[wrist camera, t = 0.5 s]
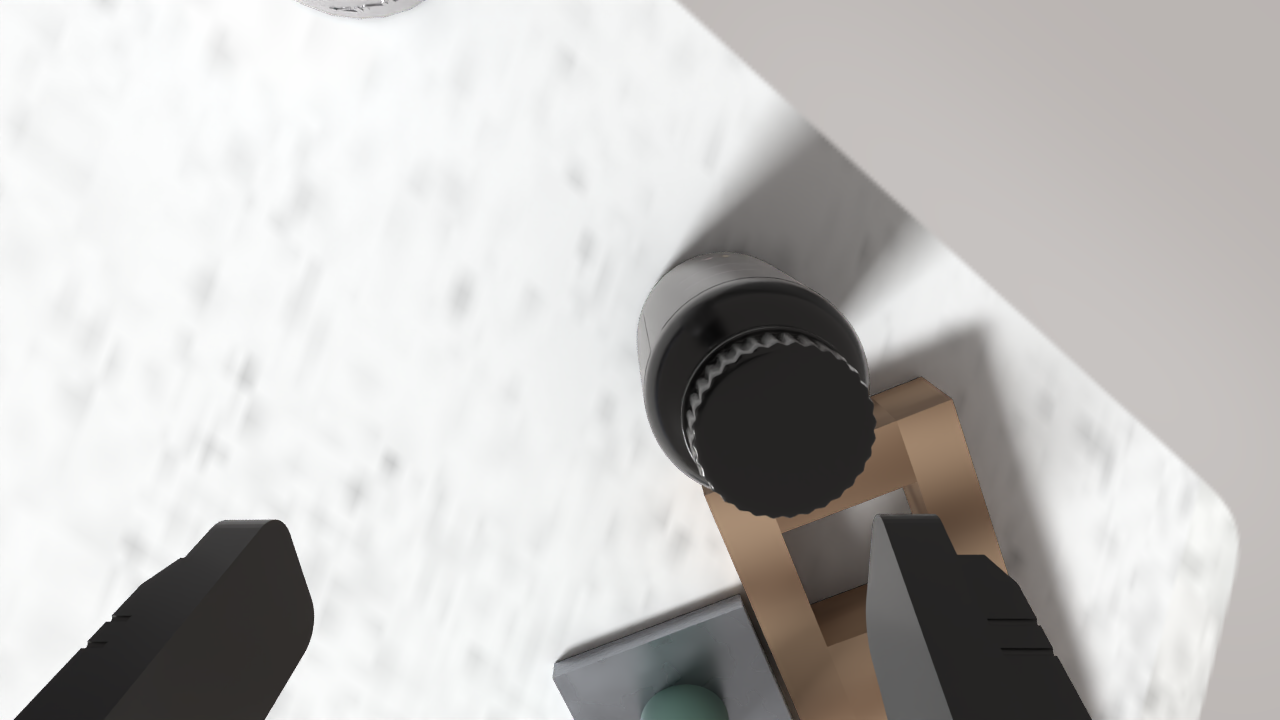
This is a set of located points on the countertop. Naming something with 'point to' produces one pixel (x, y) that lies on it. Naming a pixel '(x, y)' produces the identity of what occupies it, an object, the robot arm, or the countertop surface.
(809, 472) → the supplement bottle
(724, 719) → the peg
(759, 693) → the tab
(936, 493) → the hole board
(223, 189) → the countertop surface
